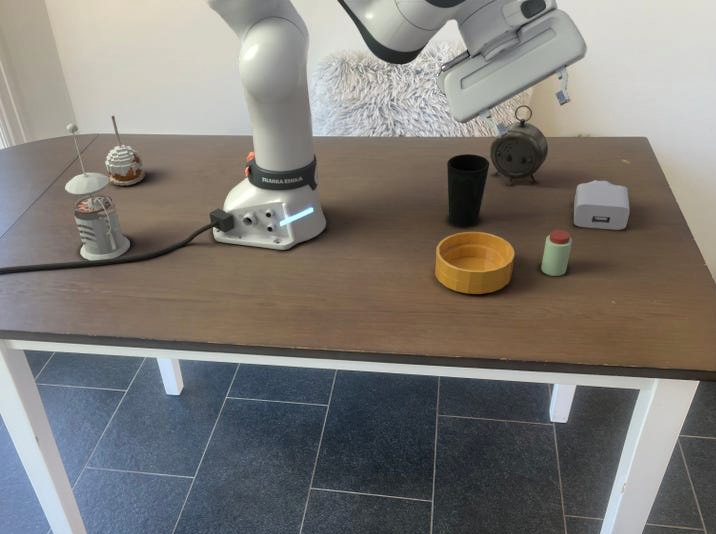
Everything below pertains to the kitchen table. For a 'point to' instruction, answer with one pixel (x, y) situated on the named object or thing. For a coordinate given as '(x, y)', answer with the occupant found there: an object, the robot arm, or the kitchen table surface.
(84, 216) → the french press
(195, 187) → the kitchen table surface
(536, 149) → the alarm clock
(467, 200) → the cup
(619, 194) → the charger
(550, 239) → the container
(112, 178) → the caramel apple
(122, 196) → the kitchen table surface
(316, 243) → the kitchen table surface
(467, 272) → the bowl
